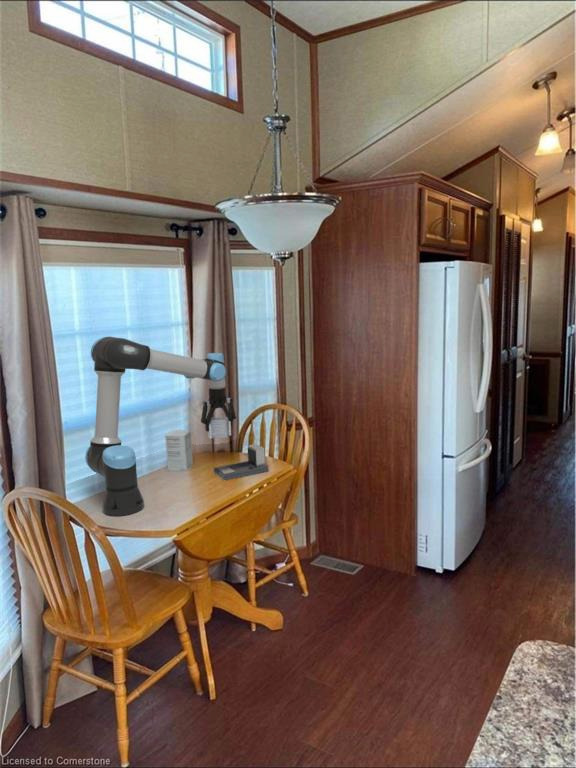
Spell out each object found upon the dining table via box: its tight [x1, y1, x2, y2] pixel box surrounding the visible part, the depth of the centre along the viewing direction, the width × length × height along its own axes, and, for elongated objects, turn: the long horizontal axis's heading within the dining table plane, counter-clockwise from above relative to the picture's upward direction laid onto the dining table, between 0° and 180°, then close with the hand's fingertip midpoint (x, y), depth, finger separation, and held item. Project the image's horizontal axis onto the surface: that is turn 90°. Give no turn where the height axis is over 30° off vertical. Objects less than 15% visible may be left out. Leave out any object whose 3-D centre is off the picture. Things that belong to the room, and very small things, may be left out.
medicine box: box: [209, 416, 229, 439], centre depth 257 cm, size 8×4×9 cm, turn 84°
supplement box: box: [164, 429, 194, 472], centre depth 261 cm, size 10×9×17 cm
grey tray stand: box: [213, 443, 269, 481], centre depth 251 cm, size 21×12×10 cm, turn 119°
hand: (219, 436), depth 257 cm, fingers closed on medicine box, 9 cm apart
